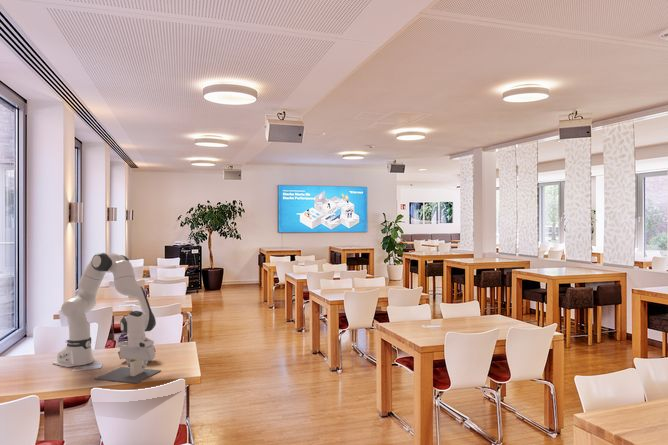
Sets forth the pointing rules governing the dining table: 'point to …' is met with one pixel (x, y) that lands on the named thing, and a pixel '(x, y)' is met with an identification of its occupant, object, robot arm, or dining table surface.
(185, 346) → the dining table surface
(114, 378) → the mat
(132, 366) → the cream tile
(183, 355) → the dining table surface
